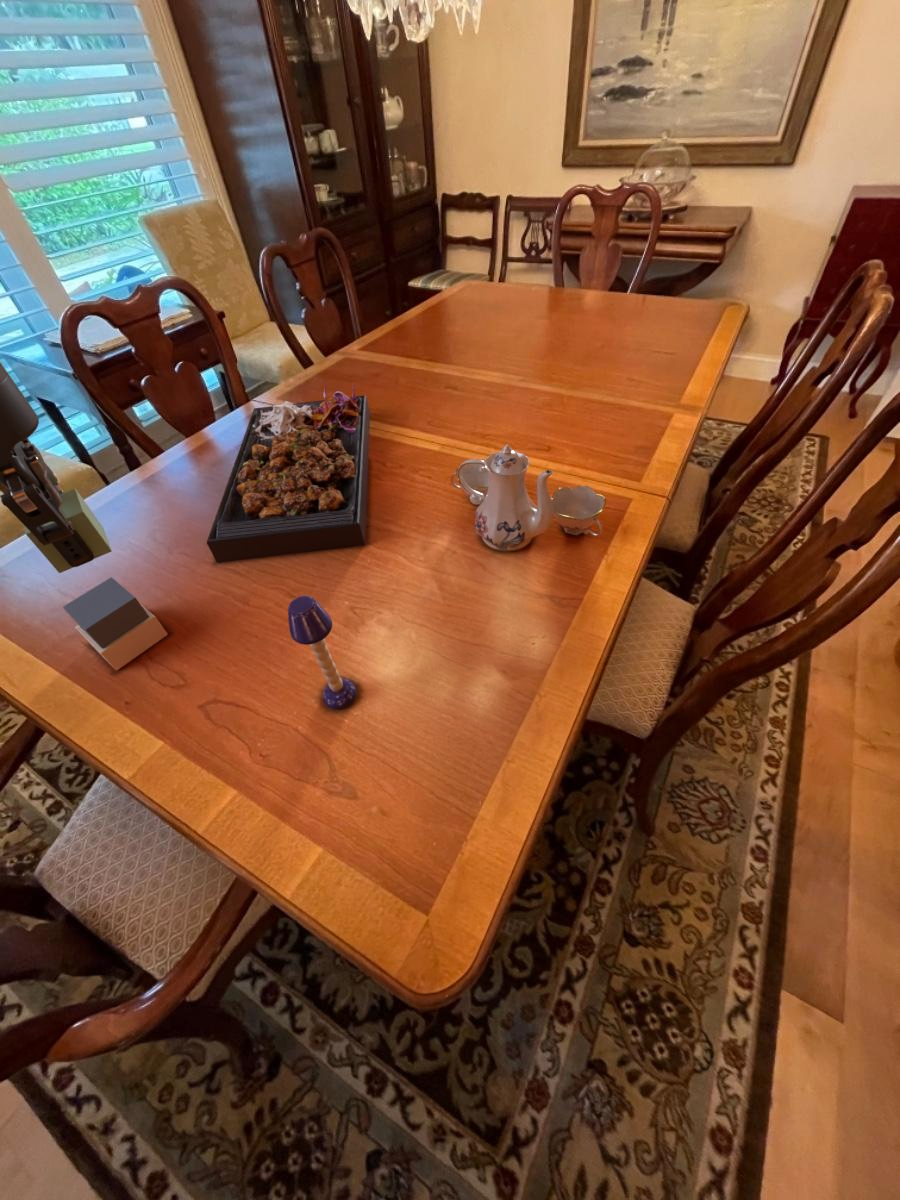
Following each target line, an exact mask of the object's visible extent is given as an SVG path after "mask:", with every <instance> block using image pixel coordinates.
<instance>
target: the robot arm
mask: <svg viewBox="0 0 900 1200" xmlns="http://www.w3.org/2000/svg"><path fill="white" fill-rule="evenodd" d="M39 424H40V419H39V416H38V414H37V413H36V411H35V409H34V408H33V407H32V406H31V404H30V403H29V401H28V400H27V398H26V397H25V395H24V394H23V392H22V391H21V390H20V388H19V387H18V385H17V384H16V382H15V381H14V380H13V378H12V377H11V375H10V374H9V372H8V370H7V369H6V368H5V367H4V366H3V364H2V362H1V361H0V492H1V493H2V494H1V495H0V502H1V504H2V505H3V506H4V507H6V508H7V509H8V510H9V512H11V513H12V514H13V515H14V516H15V517H16V519H17V520H19V521H20V522H21V524H23V526H24V525H25V526H26V528H27V529H28V530H29V531H30V532H31V533H32V534H33V535H34V536H35V537H36V538H37V539H38V541H39V542H40V543H42V544H43V545H44V546H45V545H48V544H50V543H52V544H53V545H54V547H55V548H56V549H57V550H58V551H59V553H60V554H61V555H62V556H63V558H64V559H65V560H66V561H67V562H68V564H69V565H70V566H72V567H73V568H78V567H81V566H84V565H86V564H88V563H90V562H92V561H94V560H95V559H94V554H93V552H92V551H91V549H90V548H89V547H88V545H87V544H86V543H85V541H84V540H83V539H82V538H81V536H80V535H79V534H78V532H77V531H76V530H75V528H74V527H73V526H74V524H73V523H72V521H70V520H69V519H68V517H67V516H66V514H65V513H64V511H63V510H62V508H61V505H62V503H63V499H62V498H61V496H60V494H62V493H65V492H64V491H63V489H61V488H60V487H59V485H60V484H59V480H58V478H57V476H55V474H54V471H52V469H51V468H50V467H49V465H48V464H47V463H46V462H45V460H44V458H43V456H42V453H41V452H40V450H39V449H38V447H36V445H35V444H34V443H32V442H31V441H30V439H29V438H30V437H31V436H32V435H33V434H34V433H35V432H36V430H37V429H38V427H39ZM49 498H50V499H49ZM47 499H49V500H47ZM49 522H55V523H52V524H50V525H47V526H44V524H46V523H49Z"/></svg>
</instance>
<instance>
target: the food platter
mask: <svg viewBox="0 0 900 1200" xmlns="http://www.w3.org/2000/svg"><path fill="white" fill-rule="evenodd" d="M323 398H324V399H323V400H314V401H304V402H296V403H292V402H290V401H288V400H285V401H284V403H283V402H282V403H281V404H273V405H270V406H264V407H255V408H253V410H252V412H251V416H250V418H249V422H248V425H247V427H246V429H245V433H244V435H243V438H242V441H241V444H240V447H239V450H238V453H237V455H236V458H235V461H234V464H233V467H232V469H231V472H230V474H229V478H228V480H227V483H226V486H225V489H224V491H223V495H222V496H221V497H222V498H221V500H220V503H219V506H218V509H217V512H216V514H215V516H214V520H213V522H212V526H211V529H210V531H209V534H208V537H207V539H206V545H207V548H209V551H210V552H211V554H212V556H213V558H214V560H215V562H216V563H224V562H232V561H233V562H234V561H242V560H243V561H244V560H251V559H258V558H259V559H260V558H266V557H276V556H285V555H294V554H301V553H310V552H311V553H312V552H319V551H326V550H327V551H328V550H336V549H343V548H351V547H352V548H353V547H362V546H366V534H367V533H366V532H367V508H368V507H367V505H368V504H367V502H368V478H369V454H370V453H369V451H370V430H371V429H370V426H371V425H370V424H371V412H370V408H369V401H368V396H367V395H366V394H365V395H357V396H356V394H355V382H353V383H352V395H350V396H349V395H346V394H345V393H344V392H342V391H339V390H335V392H334V393H333V394H332V397H330V398H328V396H327V389H326V387H323Z"/></svg>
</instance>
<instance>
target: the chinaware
mask: <svg viewBox="0 0 900 1200" xmlns="http://www.w3.org/2000/svg"><path fill="white" fill-rule="evenodd" d="M529 466H530V459H529V457H528V456H527V455H526V454H525V453H523V452H519V451H517V450H513V448H512V447H510V445H509V444H506V445H504V446H503V447H502V448H501V450H499V451H497V452H493V453H491V454H490V455H488V457H486V458H485V459H484V458H476V459H474V458H470V459H466V460H465V461H463V462H462V463H461V464H460V465H459V467H456V472H454V473H453V474H452V475H451V477H450V481H451V484H452V485H453V486H454V487H455V488H456V489H460V490H461V489H462V490H463V492H464V493H465V494H466V495H467V496H468V497H469V501H470V502H471V504H473V505H476V506H477V505H478V507H476V508H477V509H476V510H475V514H474V515H475V519H474V520H475V521H474V524H473V530H474V532H475V533H476V534H477V535H478V536H479V537H481V540H482V542H483V544H484V545H485V546H487V547H488V548H490V549H491V550H494V551H497V552H505V553H507V552H508V553H510V552H516V551H519V550H522V549H524V548H526V547H527V546H529V545H530V543H532V541H533V539H534V537H537V536H540V535H542V534H544V533H545V532H546V531H547V530H548V529H549V527H550V526H551V524H552V522H553V520H554V518H555V520H556V521H557V523H558V524H559V525H560V526H561V527H562V528H563V531H564V533H566V534H570V535H572V536H573V535H574V536H578V535H580V534H582V533H583V535H587V534H590V535H592V536H593V537H600V536H601V535H602V532H603V525H602V523H601V521H600V520H599V519H598V517H599V516H600V515H601V513H602V511H603V510H604V508H605V506H606V502H607V499H606V497H605V496H604V495H602V494H599V493H597V492H596V491H595V490H594V489H593V488H592V487H590V486H588V485H577V486H574V487H572V488H571V487H566V486H562V487H558V488H557V489H556V490H555V491H554V492H553V494H552V496H551V493H550V490H549V487H548V479H549V478H550V476H552V475H553V474H554V471H553V470H552V469H546V470H543V471H542V472H541V473H539V475H538V477H537V479H536V499H537V504H536V503H535V502H534V501H533V500H532V498H531V497H530V495H529V492H528V490H527V486H526V475H527V471H528V468H529ZM455 475H456V478H457V482H458V483H459V485H458V484H456V483H455V481H454V476H455ZM595 523H596V524H597V526H598V533H597V534H596V533H595V532H593V531H592V530H591V529H590V528H589V527H590V526H592V525H593V524H595Z"/></svg>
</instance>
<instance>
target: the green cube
mask: <svg viewBox="0 0 900 1200" xmlns="http://www.w3.org/2000/svg"><path fill="white" fill-rule="evenodd" d="M60 496H61V498H62V499H63V503H62V505H61V508H62V510H63V511H64V513H65V514H66V516H67V517H68V519H69V520H70V521H72V523H73V524H74V526H73V527H74V528H75V530H76V531H77V532H78V534H79V535H80V536H81V538H82V539H83V540H84V541H85V543H86V544H87V545H88V547H89V548H90V549H91V551H92V552H93V554H94V559H93V560H95V559H97V558H100V557H101V556H104V555H107V554H109V553H112V552H113V549H112V547H111V544H110V542H109V539H108V536H107V534H106V531H105V529H104V526H103V525H102V524H101V522H100V521H99V519H98V518H97V516H96V515H95V513H94V512H93V511H92V509H91V508H90V507H89V505H88V504H87V503H86V501H85V500H84V498H83V497H82V496H81V493H80V492H79V491H78V490H77V489H76V488H74V489H70V490H68V491H66V492H64V493H62V494H60ZM49 499H50V498H49ZM49 499H47V500H49ZM52 523H55V522H49V523H46V524H44V526H47V525H50V524H52ZM23 527H24V533H25V535H26V536H27V537H28V539H29V540H30V541H31V543H32V544H33V545H34V546H35V547H36V548H37V549H38V550H39V552H40V553H41V554H42V555H43V556H44V557H45V559H46V560H47V561H48V562H49V563H50V565H52V567H53V568H54V569H55V570H56V571H57V573H59V574H61V573H64V572H67V571H69V570H71V569H73V568H74V567H72V566H70V565H69V564H68V562H67V561H66V560H65V559H64V558H63V556H62V555H61V554H60V553H59V551H58V550H57V549H56V548H55V547H54V545H53V544H52V543H50V544H48V545H45V546H44V545H43V544H42V543H40V542H39V541H38V539H37V538H36V537H35V536H34V535H33V534H32V533H31V532H30V531H29V530H28V529H27V528H26V526H25V525H24V524H23Z"/></svg>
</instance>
